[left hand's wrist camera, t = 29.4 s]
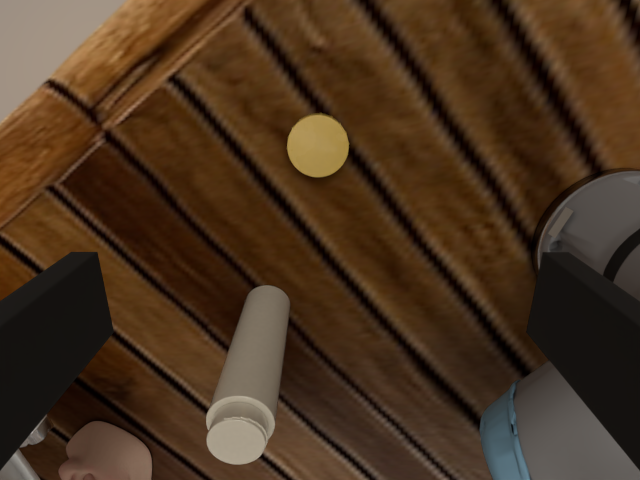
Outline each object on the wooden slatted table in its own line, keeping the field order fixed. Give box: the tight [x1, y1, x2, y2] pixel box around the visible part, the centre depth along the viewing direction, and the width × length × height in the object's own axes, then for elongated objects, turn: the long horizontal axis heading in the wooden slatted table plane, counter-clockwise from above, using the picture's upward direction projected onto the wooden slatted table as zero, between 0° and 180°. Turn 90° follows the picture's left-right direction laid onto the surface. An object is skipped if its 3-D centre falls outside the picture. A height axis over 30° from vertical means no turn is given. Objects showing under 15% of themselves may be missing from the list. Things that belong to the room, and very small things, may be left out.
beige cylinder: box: [206, 285, 290, 465], centre depth 38 cm, size 5×5×19 cm
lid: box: [287, 113, 349, 177], centre depth 39 cm, size 6×6×2 cm
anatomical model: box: [59, 421, 152, 480], centre depth 53 cm, size 13×4×12 cm
